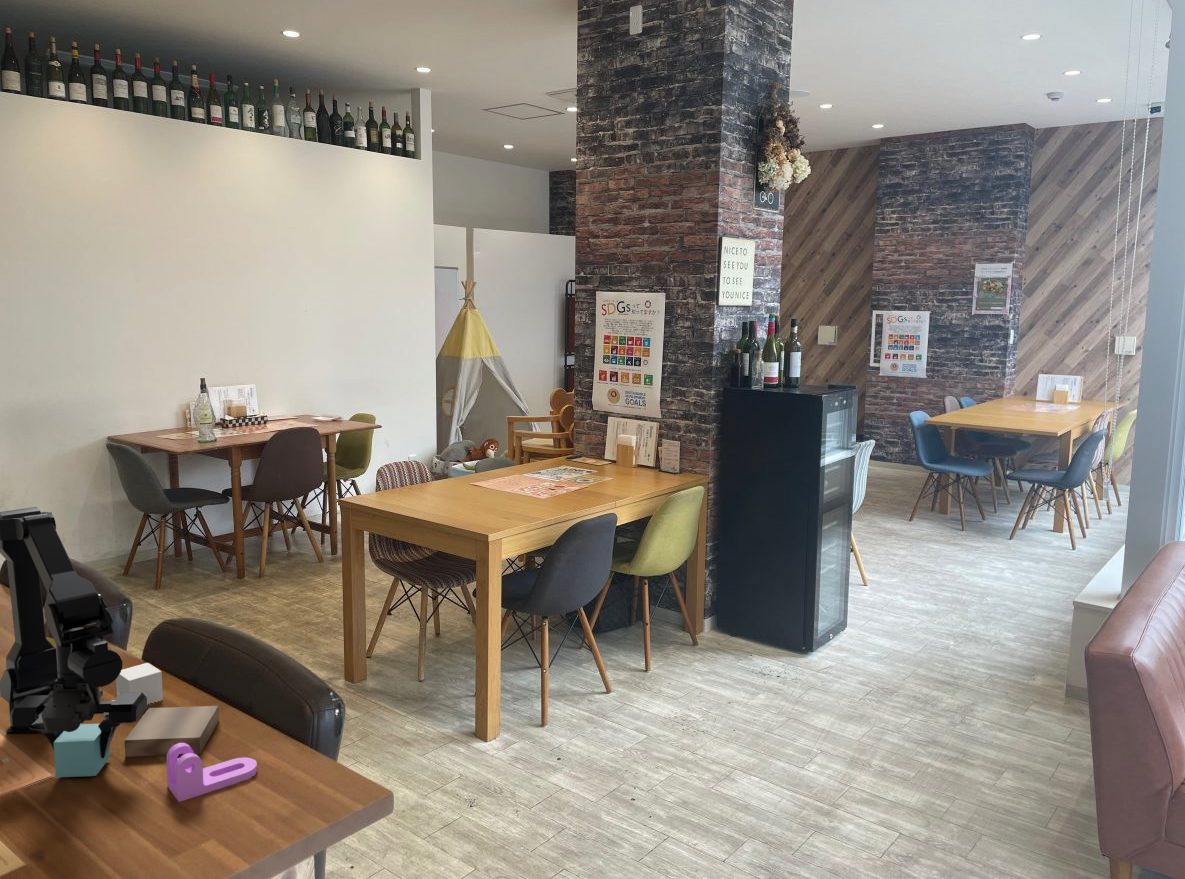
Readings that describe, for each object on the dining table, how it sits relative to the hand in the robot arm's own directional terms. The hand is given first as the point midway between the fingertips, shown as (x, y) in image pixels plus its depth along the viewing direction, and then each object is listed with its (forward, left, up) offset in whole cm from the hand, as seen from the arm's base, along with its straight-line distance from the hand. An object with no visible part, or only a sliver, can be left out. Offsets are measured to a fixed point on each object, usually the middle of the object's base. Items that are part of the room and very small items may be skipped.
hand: (83, 758), depth 145 cm
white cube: (0, +26, -2) cm, 26 cm away
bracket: (+22, -5, -3) cm, 23 cm away
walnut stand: (+11, +10, -2) cm, 15 cm away
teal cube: (0, 0, -2) cm, 2 cm away
